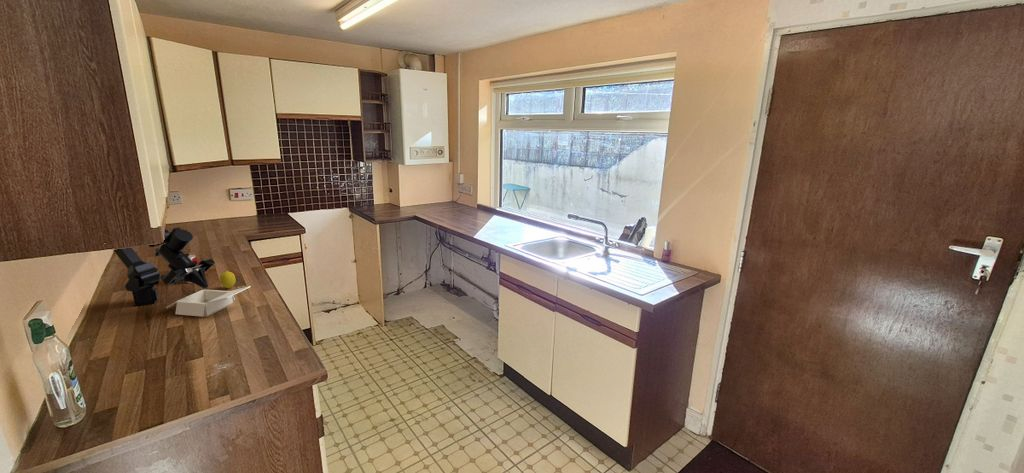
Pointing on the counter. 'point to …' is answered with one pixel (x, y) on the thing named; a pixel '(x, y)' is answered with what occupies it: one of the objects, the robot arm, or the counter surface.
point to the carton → (202, 303)
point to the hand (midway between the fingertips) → (206, 287)
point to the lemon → (227, 279)
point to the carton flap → (228, 294)
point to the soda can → (193, 258)
